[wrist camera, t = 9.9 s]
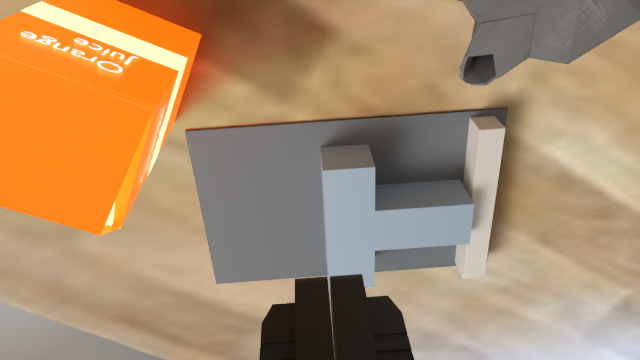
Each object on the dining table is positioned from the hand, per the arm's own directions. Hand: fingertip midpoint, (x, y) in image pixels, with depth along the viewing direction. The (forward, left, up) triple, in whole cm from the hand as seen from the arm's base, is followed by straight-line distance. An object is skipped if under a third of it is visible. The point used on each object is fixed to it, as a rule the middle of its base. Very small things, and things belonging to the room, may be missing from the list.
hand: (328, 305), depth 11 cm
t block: (-7, +16, -29) cm, 34 cm away
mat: (-3, +16, -29) cm, 33 cm away
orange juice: (+13, +2, -29) cm, 32 cm away
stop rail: (-14, +16, -29) cm, 36 cm away
